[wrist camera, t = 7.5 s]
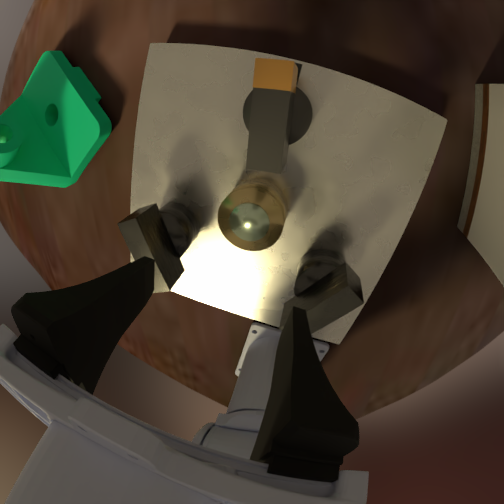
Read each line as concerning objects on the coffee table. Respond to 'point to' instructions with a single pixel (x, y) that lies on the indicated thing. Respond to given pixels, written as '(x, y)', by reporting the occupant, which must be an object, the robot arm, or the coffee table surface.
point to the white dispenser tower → (486, 179)
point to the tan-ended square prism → (274, 114)
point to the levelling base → (316, 177)
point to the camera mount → (52, 126)
